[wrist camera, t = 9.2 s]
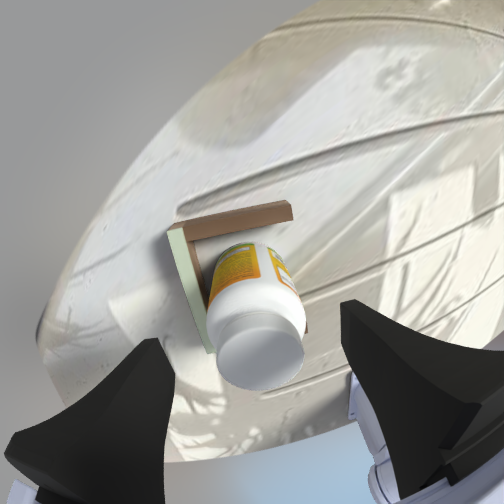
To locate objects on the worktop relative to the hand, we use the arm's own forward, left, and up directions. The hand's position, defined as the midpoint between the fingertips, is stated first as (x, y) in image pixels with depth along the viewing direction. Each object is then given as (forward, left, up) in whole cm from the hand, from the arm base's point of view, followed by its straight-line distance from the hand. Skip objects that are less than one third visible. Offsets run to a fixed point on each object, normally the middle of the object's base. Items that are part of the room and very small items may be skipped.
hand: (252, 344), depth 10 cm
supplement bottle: (-2, 0, -11) cm, 11 cm away
